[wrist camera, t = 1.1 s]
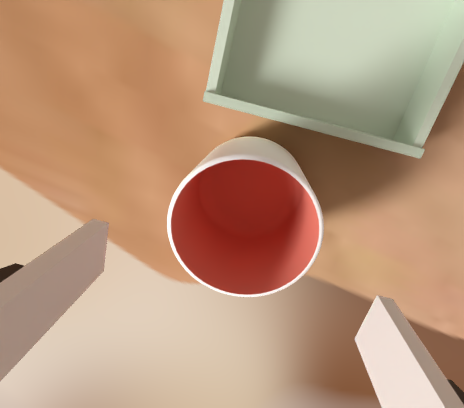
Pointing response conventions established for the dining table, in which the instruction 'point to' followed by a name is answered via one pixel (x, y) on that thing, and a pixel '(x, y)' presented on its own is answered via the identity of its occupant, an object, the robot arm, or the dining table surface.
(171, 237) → the cup
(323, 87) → the pale green square tray
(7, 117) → the dining table surface
